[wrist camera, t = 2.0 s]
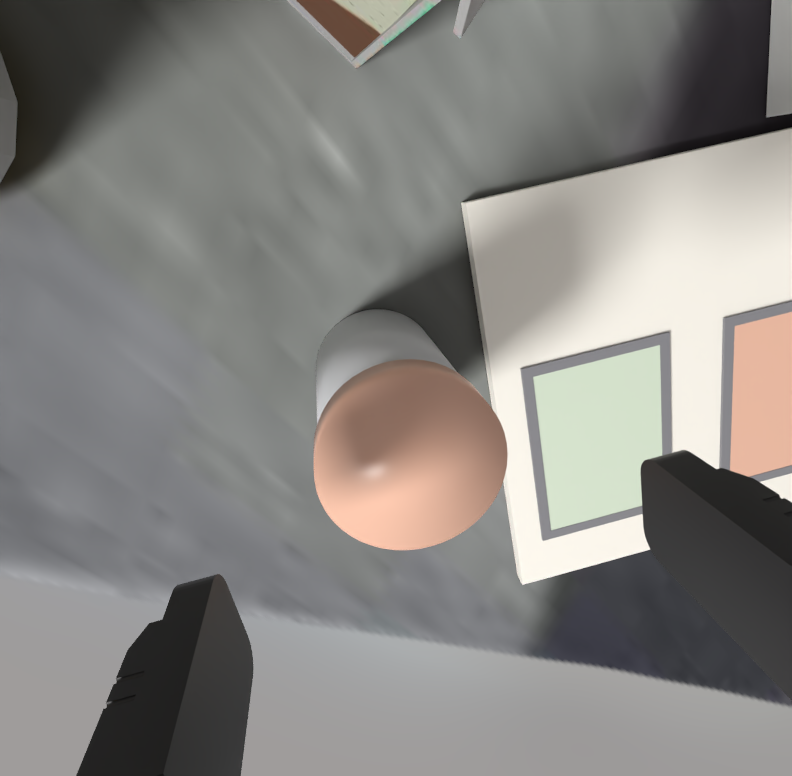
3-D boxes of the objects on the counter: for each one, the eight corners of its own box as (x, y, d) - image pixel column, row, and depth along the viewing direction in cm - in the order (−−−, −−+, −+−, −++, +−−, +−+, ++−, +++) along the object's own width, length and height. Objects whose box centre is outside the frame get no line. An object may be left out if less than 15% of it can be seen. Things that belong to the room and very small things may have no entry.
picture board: (461, 202, 18) (466, 203, 17) (972, 85, 19) (996, 82, 18) (517, 575, 24) (523, 586, 23) (905, 468, 25) (922, 476, 24)
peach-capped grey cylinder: (297, 323, 19) (289, 404, 12) (426, 292, 19) (493, 353, 12) (330, 439, 20) (340, 570, 13) (447, 409, 20) (518, 522, 14)
